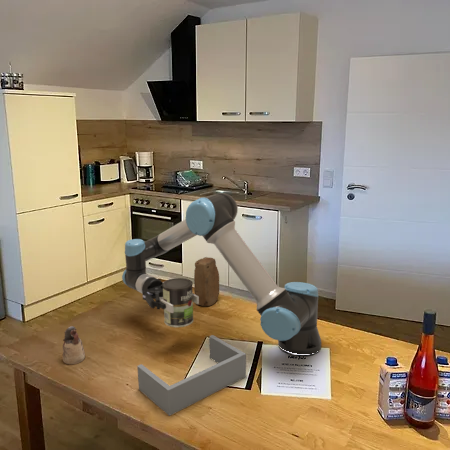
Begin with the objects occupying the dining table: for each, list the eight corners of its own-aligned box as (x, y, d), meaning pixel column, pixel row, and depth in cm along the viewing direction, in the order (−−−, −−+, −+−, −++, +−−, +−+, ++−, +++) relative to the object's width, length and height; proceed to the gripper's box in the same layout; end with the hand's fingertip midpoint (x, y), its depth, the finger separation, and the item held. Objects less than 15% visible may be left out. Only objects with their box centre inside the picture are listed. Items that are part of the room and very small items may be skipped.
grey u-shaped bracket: (138, 389, 140) (137, 365, 138) (213, 356, 158) (212, 334, 156) (169, 415, 127) (168, 390, 125) (245, 376, 146) (245, 353, 144)
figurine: (79, 351, 162) (75, 320, 159) (89, 359, 157) (86, 326, 154) (59, 359, 157) (56, 327, 154) (69, 367, 152) (65, 334, 149)
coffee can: (199, 318, 163) (198, 281, 159) (182, 330, 154) (180, 291, 151) (176, 312, 168) (174, 275, 164) (158, 323, 160) (156, 285, 156)
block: (206, 308, 195) (205, 264, 190) (192, 304, 200) (191, 260, 195) (222, 300, 204) (221, 257, 199) (209, 296, 208) (208, 254, 203)
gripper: (175, 288, 181) (211, 305, 164) (123, 304, 166) (157, 325, 150) (174, 270, 179) (211, 285, 162) (122, 284, 164) (156, 303, 148)
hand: (185, 304), depth 156 cm, fingers closed on coffee can, 10 cm apart
